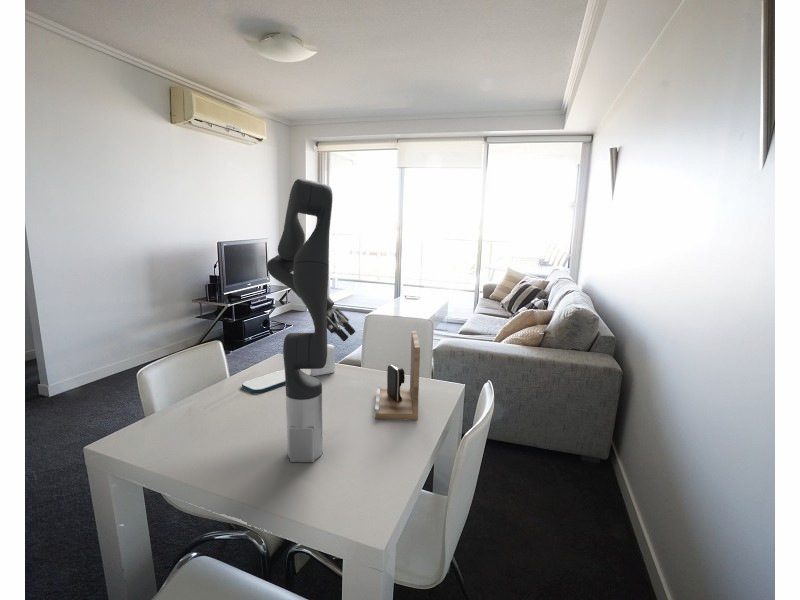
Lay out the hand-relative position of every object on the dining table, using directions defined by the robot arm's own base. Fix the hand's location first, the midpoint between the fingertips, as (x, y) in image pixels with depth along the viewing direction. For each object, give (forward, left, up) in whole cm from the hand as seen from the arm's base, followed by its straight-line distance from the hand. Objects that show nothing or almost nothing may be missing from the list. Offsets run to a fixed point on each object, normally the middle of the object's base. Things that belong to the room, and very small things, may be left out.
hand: (350, 336), depth 137 cm
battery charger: (+2, -16, -22) cm, 27 cm away
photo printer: (+29, +14, -24) cm, 41 cm away
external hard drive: (+19, +31, -25) cm, 44 cm away
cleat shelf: (-1, -15, -24) cm, 28 cm away
